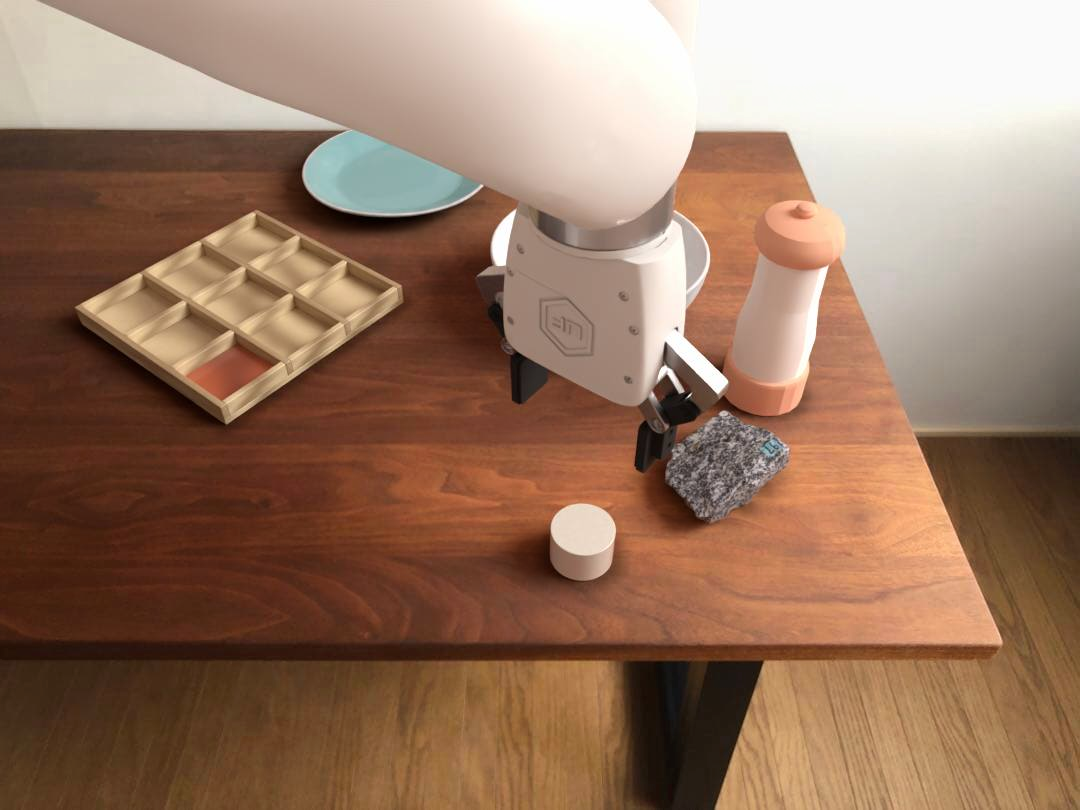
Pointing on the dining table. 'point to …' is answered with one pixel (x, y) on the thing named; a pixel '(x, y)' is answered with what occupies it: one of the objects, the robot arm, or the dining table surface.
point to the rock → (724, 465)
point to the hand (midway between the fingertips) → (588, 423)
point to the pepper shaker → (782, 307)
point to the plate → (380, 179)
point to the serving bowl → (692, 237)
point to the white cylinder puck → (582, 541)
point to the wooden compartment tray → (240, 312)
